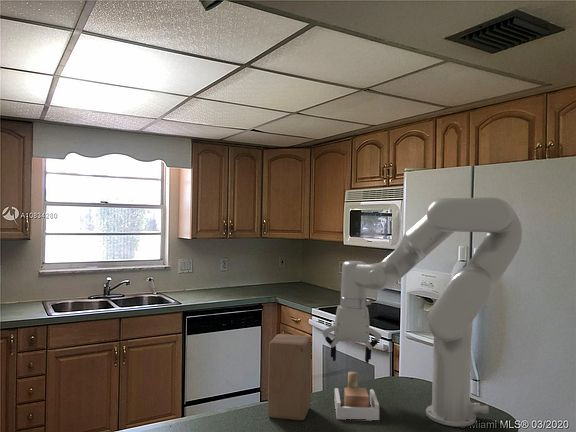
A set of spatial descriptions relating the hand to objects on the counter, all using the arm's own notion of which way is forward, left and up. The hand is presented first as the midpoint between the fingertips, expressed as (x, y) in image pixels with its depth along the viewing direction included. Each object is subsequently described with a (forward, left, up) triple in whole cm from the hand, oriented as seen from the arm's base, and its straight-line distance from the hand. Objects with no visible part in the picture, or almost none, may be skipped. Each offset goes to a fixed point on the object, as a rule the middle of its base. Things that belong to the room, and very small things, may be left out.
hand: (350, 360), depth 140 cm
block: (-1, +7, -11) cm, 13 cm away
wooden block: (+17, +13, -11) cm, 24 cm away
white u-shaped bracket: (-1, +11, -11) cm, 15 cm away
